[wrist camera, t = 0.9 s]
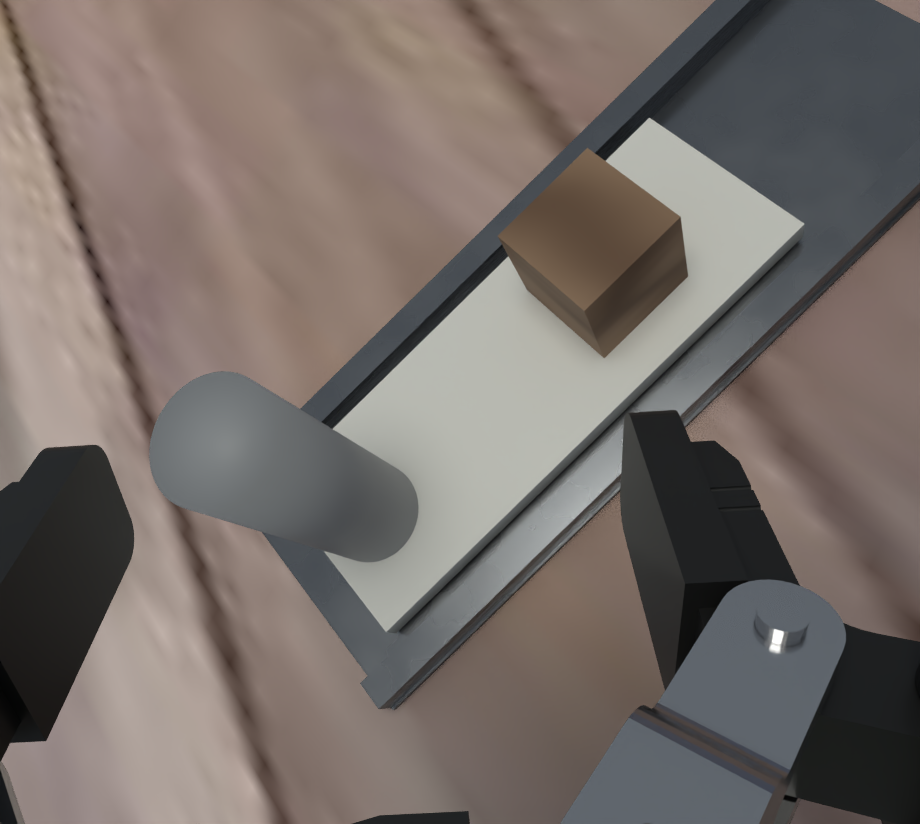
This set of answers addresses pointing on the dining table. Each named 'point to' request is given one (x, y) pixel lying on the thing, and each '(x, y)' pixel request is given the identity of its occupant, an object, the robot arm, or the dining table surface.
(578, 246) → the walnut block
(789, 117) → the track
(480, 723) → the dining table surface
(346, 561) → the grey post on base
